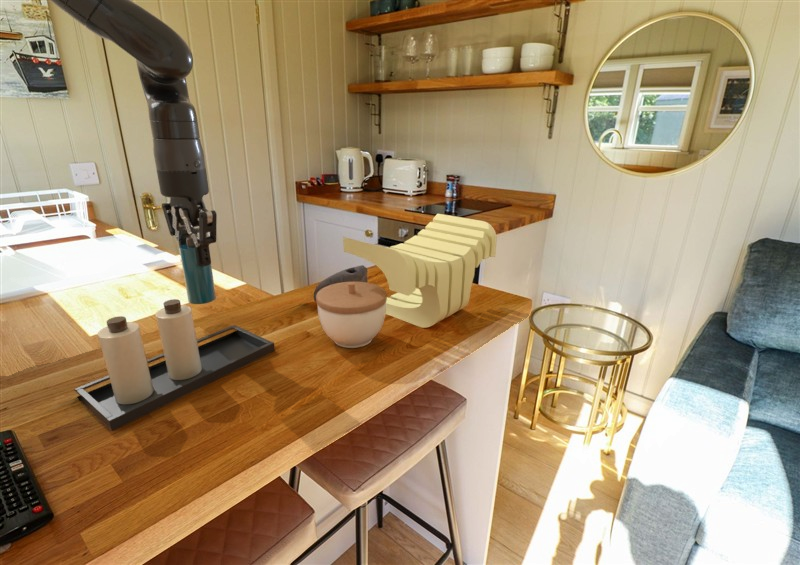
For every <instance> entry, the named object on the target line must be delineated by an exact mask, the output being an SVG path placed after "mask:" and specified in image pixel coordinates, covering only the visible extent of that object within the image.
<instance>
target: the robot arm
mask: <svg viewBox="0 0 800 565" xmlns="http://www.w3.org/2000/svg"><path fill="white" fill-rule="evenodd" d="M49 1H50V2H52V3H53V4H54V5H55V6H56V7H58V8H59V9H61V10H62V11H63V12H65V13H66V14H67V15H69V17H71V18H72V19H74V21H77V22H78V23H79V24H80V25H82V26H83V27H85V29H87V30H89V31H90V32H92V33H93V34H95V35H96V36H97V37H100V38H102V39H103V40H107V41H110V42H111V43H114V44H115V45H116V46H118V47H119V48H120V49H122V50H123V51H124V52H126V53H127V54H128V55H130V56H131V57H132V58H134V59H135V63H136V68H137V72H138V76H139V80H140V83H141V87H142V91H143V94H144V98H145V100H146V104H147V111H148V119H149V126H150V131H151V137H152V146H153V148H152V150H153V158H154V164H155V169H156V175H157V181H158V186H159V191H160V192H159V193H160V194H161V196H163V197H165V198H169V199H170V200H169V202H164V203H161V208H162V211H163V215H164V218H165V222H166V224H167V229H168V232H169V235H170V236H171V237H173V236H174V238H175V240H176V242H178V247H179V246H181V245H183V244H187V243H186V238H187V237H191V236H192V238H193V241H194V244H195V246H196V247H195V252H196V258H197V264H198V266H200V267H204V266H208V265H210V264H211V265H212V259H211V252H210V245H211V244H216V243H217V223H218V220H217V212H216V210H214V209H213V210H209V209H207V208H206V204H205V202H204V199H203V198H204V196H206V195H208V194H210V188H209V181H208V173H207V167H206V160H205V153H204V148H203V144H202V142H201V135H200V127H199V122H198V115H197V111H196V108H195V105H193V103H192V102H191V100H190V96H189V90H188V83H187V77H188V76H189V75H190V73H191V72H192V70H193V67H194V56H193V52H192V50H191V48H190V46H189V45H188V43H187V42H186V41H185V39H184V38H183V37H182V36H181V35H180V34H178V32H177V31H176V30H174V29H173V28H172V27H171V26H169V25H168V24H166V23H165V22H164V21H162V19H159V18H158V17H157V16H156V15H154V14H152V13H151V12H149V11H148V10H146V9H145V8H144V7H142V6H140V5H139V4H137V3H136V2H134V1H132V0H49Z"/></svg>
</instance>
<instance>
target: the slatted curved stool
mask: <svg viewBox="0 0 800 565" xmlns="http://www.w3.org/2000/svg"><path fill="white" fill-rule="evenodd" d="M497 240H498V238H497V232H496V230H495V229H494V227H493V226H492V225H491V223H489V222H487V221H485V220H480V219H479V220H478V219H473V218H468V217H461V216H455V215H448V214H442V213H437V214H436V215H435V216H433V218H432V221H430V222H428V223H427V225H425V227H424V228H422V229H420V231H418V232H417V234H415V235H414V236H412V237H410V238H409V239H407V240H405V241H404V242H403V243H401V242H400V243H399V244H395V245H391V246H389V247H388V246H381V245H377V244H374V243H373V244H372V243H369V242H366V241H361V240H357V239H353V238H350V237H345V236H343V237H342V243H343V252H344V253H348V254H351V255H353V256H356V257H359V258H361V259H364V260H365V261H367V262H370V263H371V264H373V265H374V266H377V268H379V270H380V271H381V272H382V273H383V275H384V276H385V278H386V281H387V285H388V288H389V291H392V292H395V293H394V294H391V295H390V296H387V300H386V313H385V315H387V316H390V317H393V318H395V319H397V320H400V321H403V322H406V323H408V324H410V325H414V326H416V327H418V328H422V329H424V328H430V327H432V326H434V325H436V324H438V323H439V322H441V321H443V320H445V319H446V318H448V317H450V316H452V315H453V314H455V313H458V312H459V311H460V310H463V309H464V308H466V307H467V306H468V305H469V303H470V297H471V291H472V286H473V282H474V279H475V272H476V269H477V268H479V266H480V265H481V263H482V262H483V260H486V259H488V258H496V251H497V242H498V241H497Z"/></svg>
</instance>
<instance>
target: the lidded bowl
mask: <svg viewBox="0 0 800 565" xmlns="http://www.w3.org/2000/svg"><path fill="white" fill-rule="evenodd" d="M387 297H388V293H387V291H386V290H385V289H384V287H382V286H381V285H378V284H375V283H371V282H367V283H366V282H342V283H336V284H332V285H329V286H326V287H324V288H322V289H321V290H320V291H319V292H318V293H317V295H316V302H317V303H316V302H315V303H316V305H317V314H318V320H319V323H320V327H321V328H322V330H323V332H324V333H325V335H326V336H327V337H328V338H329V339H331V340H332V341H333V342H334V344H336V345H337V346H339V347H342V348H345V349H346V348H347V349H355V348H356V349H357V348H363V347H365V346H367V345H369V344H370V343H371V342H372V341H373V339H374V338H375V337H376V336H377V335H378V334H379V333H380V332H381V330H382V328H383V326H384V324H385V319H386V314H385V313H386V300H387Z"/></svg>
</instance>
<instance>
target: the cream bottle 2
mask: <svg viewBox="0 0 800 565" xmlns="http://www.w3.org/2000/svg"><path fill="white" fill-rule="evenodd" d="M162 303H163V308H160V309H159V310H157V311H156V312H155V314H154V316H155V319H156V324H157V330H158V334H159V337H160V338H159V339H160V343H161V348H162V352H163V353H164V357H163V358H164V361H165V362H166V367H167V372H168V376H169V378H171V379H173V380H184V379H189V378H192V377H194V376H196V375H197V374H199V373H200V372H201V370H202V365H201V360H200V354H199V349H198V346H199V342H198V343H197V340H198V338H197V334H196V328H195V327H196V326H195V322H194V316H193V311H192V307H191V306H189V305H185V304H181V300H180V299H177V298H176V299H175V298H173V299H169V300H165V301H164V302H162ZM163 353H162V354H163Z"/></svg>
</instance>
